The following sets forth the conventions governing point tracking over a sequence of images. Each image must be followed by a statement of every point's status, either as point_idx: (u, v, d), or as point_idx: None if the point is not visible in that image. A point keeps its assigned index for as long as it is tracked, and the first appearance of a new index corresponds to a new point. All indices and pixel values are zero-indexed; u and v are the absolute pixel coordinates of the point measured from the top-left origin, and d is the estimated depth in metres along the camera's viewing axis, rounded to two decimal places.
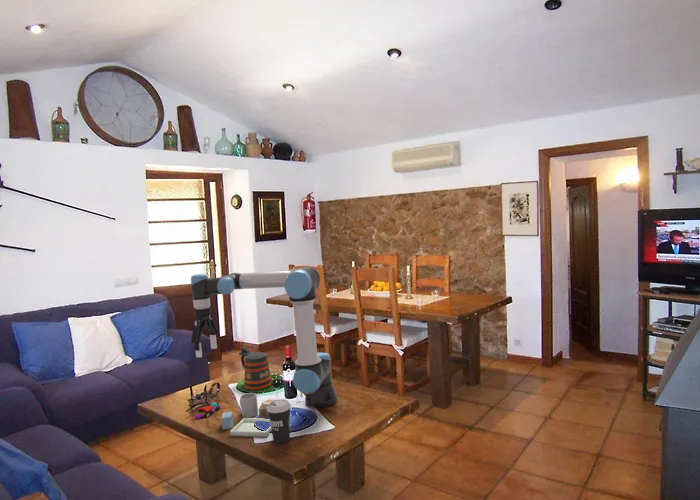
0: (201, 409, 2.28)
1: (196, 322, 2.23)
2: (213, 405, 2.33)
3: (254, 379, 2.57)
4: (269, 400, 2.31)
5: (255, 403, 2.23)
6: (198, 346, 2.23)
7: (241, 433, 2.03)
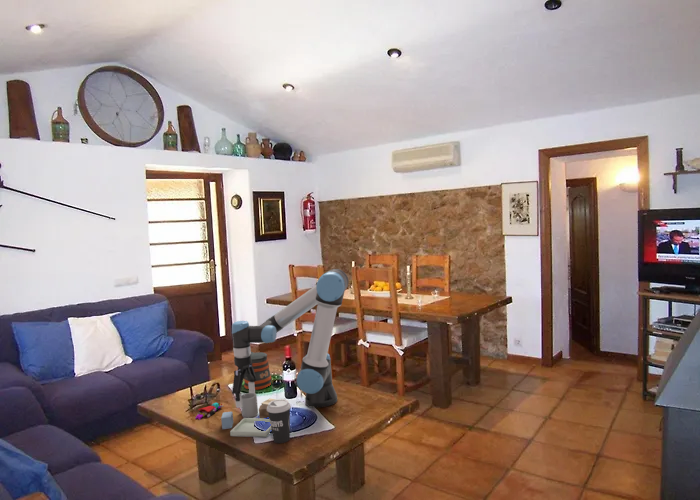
0: (202, 409, 2.28)
1: (237, 372, 2.18)
2: (214, 405, 2.33)
3: None
4: (269, 400, 2.31)
5: (255, 403, 2.23)
6: (239, 396, 2.18)
7: (241, 433, 2.03)
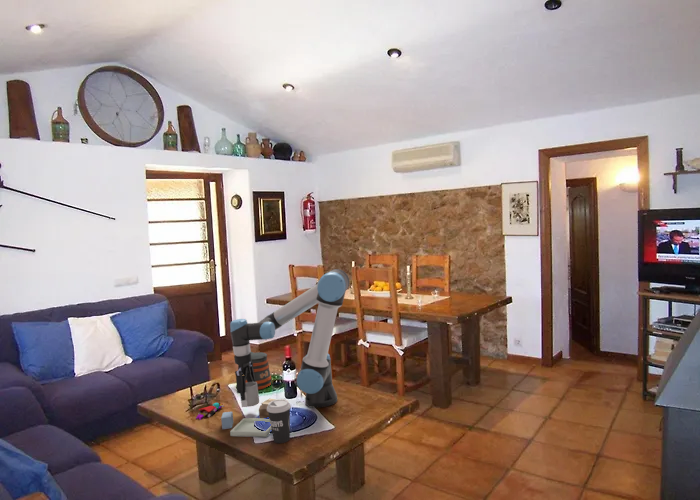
0: (202, 409, 2.28)
1: (238, 372, 2.18)
2: (215, 405, 2.33)
3: None
4: (269, 400, 2.31)
5: (256, 391, 2.23)
6: (244, 396, 2.20)
7: (241, 433, 2.03)
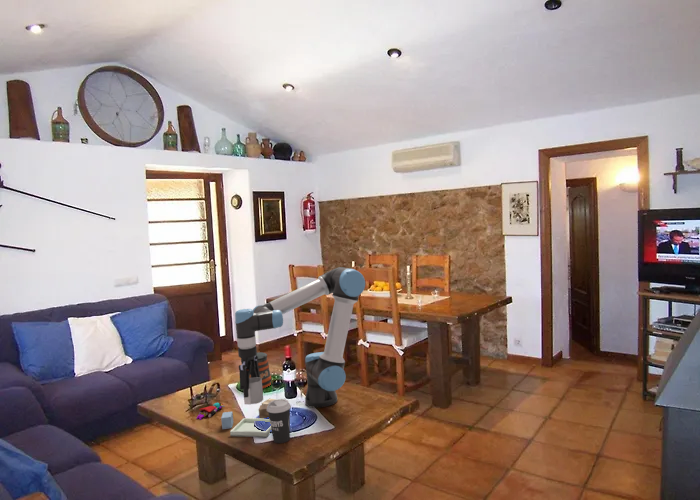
0: (203, 409, 2.28)
1: (242, 367, 2.00)
2: (215, 405, 2.33)
3: None
4: (269, 400, 2.31)
5: (260, 388, 2.06)
6: (247, 392, 2.03)
7: (241, 433, 2.03)
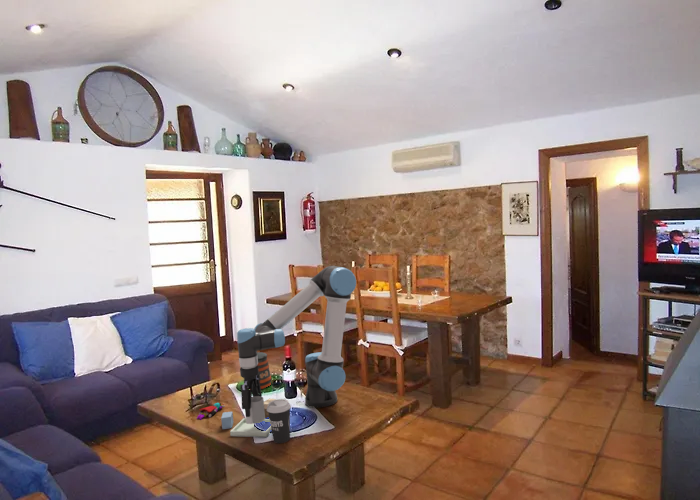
0: (203, 409, 2.28)
1: (244, 387, 2.01)
2: (216, 405, 2.33)
3: None
4: (269, 400, 2.31)
5: (262, 407, 2.07)
6: (249, 412, 2.03)
7: (241, 433, 2.03)
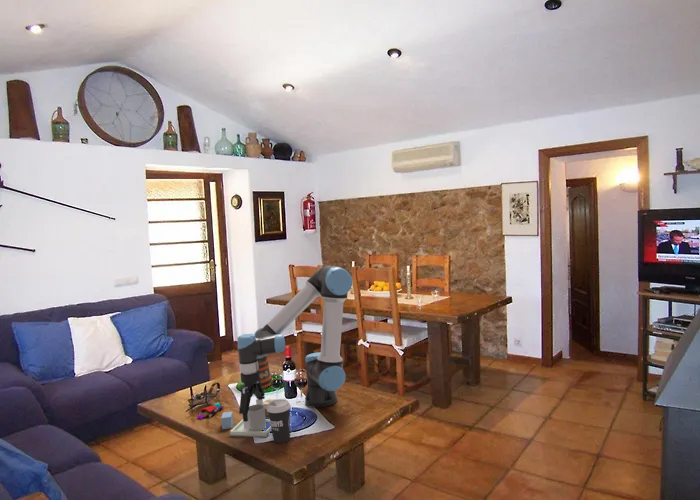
0: (204, 409, 2.28)
1: (244, 390, 2.01)
2: (216, 405, 2.33)
3: None
4: (269, 400, 2.31)
5: (263, 415, 2.07)
6: (246, 416, 2.01)
7: (241, 433, 2.03)
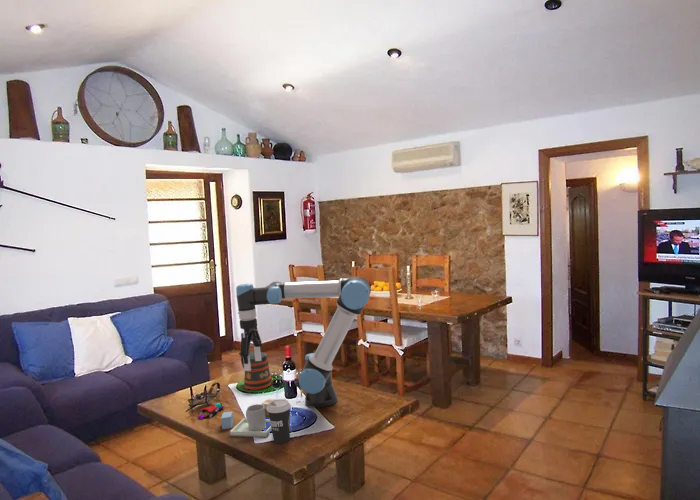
0: (204, 409, 2.27)
1: (244, 334, 2.14)
2: (216, 405, 2.33)
3: (254, 379, 2.57)
4: (269, 400, 2.31)
5: (263, 415, 2.07)
6: (247, 359, 2.14)
7: (241, 433, 2.03)
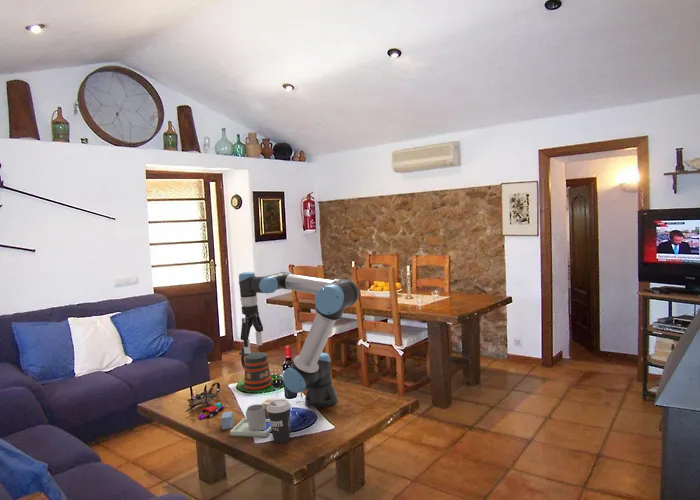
0: (205, 409, 2.27)
1: (245, 319, 2.28)
2: (217, 405, 2.33)
3: (254, 379, 2.57)
4: (269, 400, 2.31)
5: (263, 415, 2.07)
6: (247, 342, 2.27)
7: (241, 433, 2.03)
